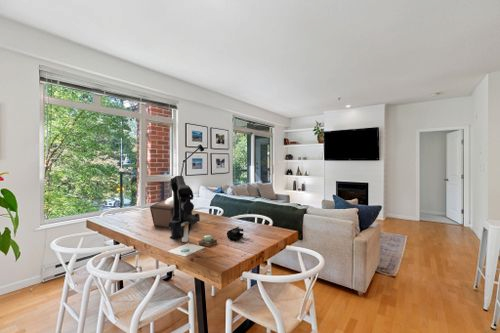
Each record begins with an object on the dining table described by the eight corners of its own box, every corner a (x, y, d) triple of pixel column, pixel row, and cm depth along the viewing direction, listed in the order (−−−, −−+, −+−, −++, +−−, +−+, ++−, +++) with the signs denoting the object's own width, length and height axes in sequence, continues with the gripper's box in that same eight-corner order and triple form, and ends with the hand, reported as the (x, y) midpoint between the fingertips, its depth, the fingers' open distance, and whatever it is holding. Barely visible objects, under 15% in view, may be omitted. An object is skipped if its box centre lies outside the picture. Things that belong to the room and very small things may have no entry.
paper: (167, 252, 134) (167, 251, 134) (188, 243, 148) (188, 243, 147) (184, 256, 127) (184, 256, 127) (205, 247, 140) (205, 247, 140)
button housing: (198, 244, 146) (198, 240, 146) (207, 240, 152) (207, 237, 152) (208, 246, 141) (208, 242, 141) (217, 243, 148) (217, 239, 148)
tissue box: (154, 230, 191) (148, 202, 186) (179, 215, 215) (174, 190, 210) (176, 234, 180) (170, 204, 175) (199, 218, 204) (195, 191, 199)
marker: (180, 241, 134) (180, 224, 134) (185, 239, 137) (185, 223, 137) (185, 242, 132) (184, 225, 132) (189, 240, 135) (189, 224, 135)
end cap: (235, 235, 163) (235, 226, 163) (243, 237, 159) (243, 227, 159) (226, 240, 154) (226, 229, 154) (235, 241, 151) (235, 231, 151)
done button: (202, 241, 146) (202, 236, 146) (207, 239, 150) (207, 234, 150) (208, 242, 144) (208, 238, 143) (213, 240, 148) (213, 235, 148)
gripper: (182, 213, 122) (182, 243, 123) (206, 207, 138) (206, 234, 139) (167, 211, 128) (168, 240, 128) (192, 206, 144) (192, 231, 144)
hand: (184, 236), depth 135 cm, fingers closed on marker, 4 cm apart
